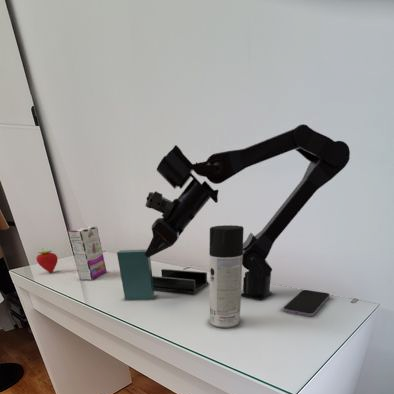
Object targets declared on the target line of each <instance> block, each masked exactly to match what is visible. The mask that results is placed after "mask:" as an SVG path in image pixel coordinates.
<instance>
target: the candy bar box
mask: <svg viewBox="0 0 394 394" xmlns="http://www.w3.org/2000/svg"><path fill="white" fill-rule="evenodd" d="M67 233H68V237H69V240H70V245H71V248H72V252H73V255H74V259H75V263H76V267H77V271H78V275H79V278H80V280H81V281H93V280H95V279H97V278H98V277H100V276H103V275H104V274H106V273H107V272H108V271H107V267H106V263H105V259H104V257H105V256H104V253H103V248H102V244H101V238H100V234H99V230H98V226H91V225H90V226H83V227H79V228H76V229H72V230H68V232H67Z"/></svg>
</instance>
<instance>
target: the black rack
mask: <svg viewBox="0 0 394 394" xmlns="http://www.w3.org/2000/svg"><path fill="white" fill-rule="evenodd" d="M160 271H161V276H159V275H152V277H153V285H154V292H163V293H172V294H181V295H191V296H194V295H196V294H197V293H198V292H200V291H201V290H203V289H204V288H205V287H207V286H208V285H209V280H208V272H206V271H194V270H181V269H168V268H162V269H160Z"/></svg>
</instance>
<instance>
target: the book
mask: <svg viewBox="0 0 394 394" xmlns="http://www.w3.org/2000/svg"><path fill="white" fill-rule="evenodd" d="M147 249H148V248H145V249H121V250H119V251H117V252H116V256H117V261H118V267H119V273H120V278H121V284H122V290H123V296H124V300H125V301H141V300H143V301H144V300H154V299H155V297H156V295H155V291H154V285H153V277H152V276H153V268H152V260H151V257H149V258H147V257H146V256H145V253H146V251H147Z"/></svg>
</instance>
